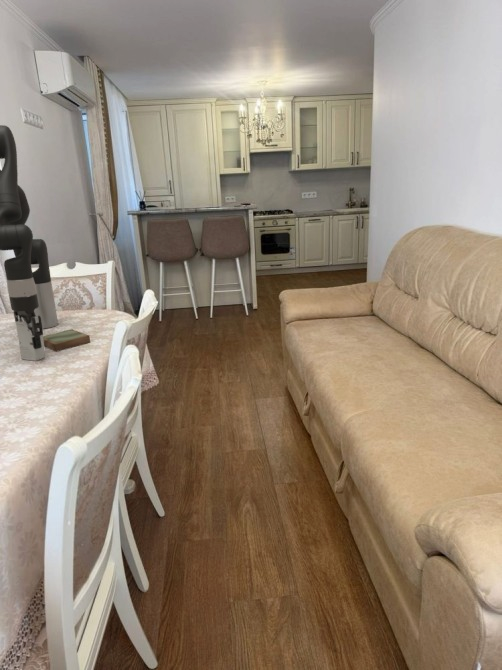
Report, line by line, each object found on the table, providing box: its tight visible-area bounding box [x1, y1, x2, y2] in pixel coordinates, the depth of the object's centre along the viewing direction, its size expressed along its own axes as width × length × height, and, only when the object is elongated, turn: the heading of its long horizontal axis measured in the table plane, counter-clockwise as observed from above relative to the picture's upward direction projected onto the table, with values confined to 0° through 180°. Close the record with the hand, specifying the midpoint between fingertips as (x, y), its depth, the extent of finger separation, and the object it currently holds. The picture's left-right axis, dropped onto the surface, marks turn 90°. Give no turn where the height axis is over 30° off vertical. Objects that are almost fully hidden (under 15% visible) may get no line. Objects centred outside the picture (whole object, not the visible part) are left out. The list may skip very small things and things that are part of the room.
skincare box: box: [15, 321, 46, 362], centre depth 137 cm, size 6×4×12 cm
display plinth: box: [43, 328, 91, 352], centre depth 152 cm, size 12×12×3 cm
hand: (32, 345), depth 138 cm, fingers closed on skincare box, 7 cm apart
